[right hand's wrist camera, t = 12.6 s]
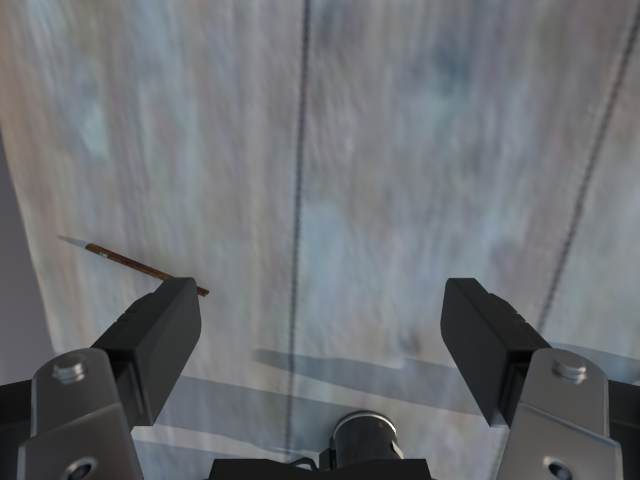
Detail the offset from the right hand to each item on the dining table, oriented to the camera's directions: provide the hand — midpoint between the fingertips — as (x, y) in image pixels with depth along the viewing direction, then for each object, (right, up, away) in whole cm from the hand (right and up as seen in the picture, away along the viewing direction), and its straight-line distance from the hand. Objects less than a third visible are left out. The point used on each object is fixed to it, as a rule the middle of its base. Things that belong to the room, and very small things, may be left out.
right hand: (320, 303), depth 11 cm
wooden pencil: (-21, -1, +32) cm, 38 cm away
